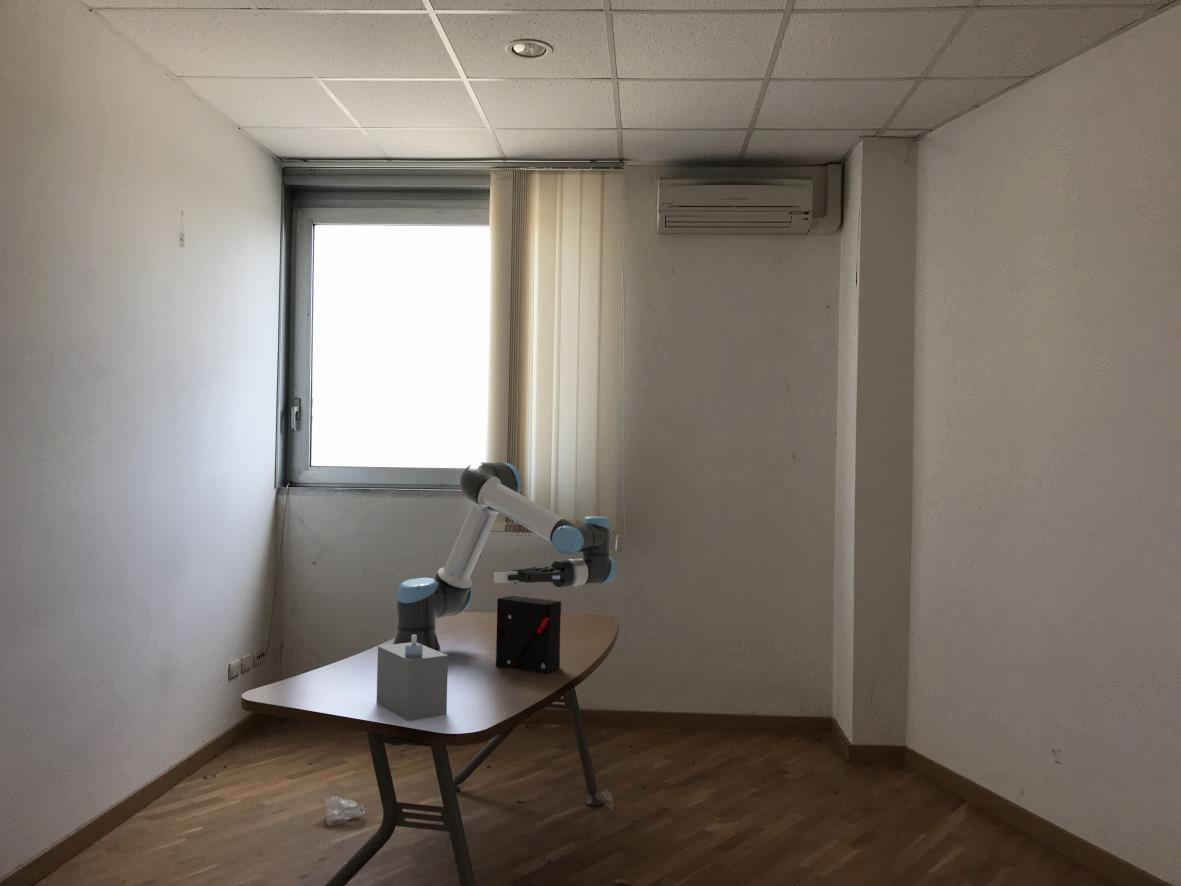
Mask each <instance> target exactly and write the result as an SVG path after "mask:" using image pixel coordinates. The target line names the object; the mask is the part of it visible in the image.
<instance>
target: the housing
mask: <svg viewBox="0 0 1181 886" xmlns="http://www.w3.org/2000/svg"><path fill="white" fill-rule="evenodd" d="M407 644H411V642H410V643H401V644H393V643H392V644H386V645H378V646H377V671H376V675H377V676H376V704H378V705H380V706H381V707H383V708H384V709H386V710H388V711H390V712H392V713H393V712H394V713H393V714H395V715H397V716H398V715H399V717H400V718H402V719H403V718H404V720H405V721H407V722H410V721H409V720H411V721H415V720H420V719H421V720H422V719H427V718H433V717H434V718H435V717H440V716H444V715H447V711H448V710H447V709H448V708H447V705H448V671H449V669H448V667H449V659H448V658H449V654H446V653H443V652H439V651H436V650H434V649H431V648H429V647H426V646H424V645H422V656H420V657H406V656H405V645H407ZM417 644H419V643H417Z"/></svg>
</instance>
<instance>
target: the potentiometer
mask: <svg viewBox="0 0 1181 886" xmlns="http://www.w3.org/2000/svg"><path fill="white" fill-rule="evenodd" d="M405 656H406V657H420V656H422V644H417V635H412V640H411V644H407V645H405Z"/></svg>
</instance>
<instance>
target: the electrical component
mask: <svg viewBox="0 0 1181 886" xmlns="http://www.w3.org/2000/svg"><path fill="white" fill-rule="evenodd" d="M496 599H497V601H496V602H497V603H496V604H497V605H496V609H497V610H496V641H495V642H496V643H495V644H496V646H495V647H496V648H495V668H496V667H497V668H504V669H516V670H521V671H527V672H531V673H538V674H543V675H544V674H545V675H549V674H553V673H555V672H558V671H560V669H561V663H562V661H561V657H560V656H561V655H560V653H561V652H560V651H561V615H562V601H561V600H551V599H542V598H534V597H528V596H527V597H526V596H519V595H508V596H504V597H499V598H496Z"/></svg>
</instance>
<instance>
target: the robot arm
mask: <svg viewBox="0 0 1181 886" xmlns="http://www.w3.org/2000/svg"><path fill="white" fill-rule="evenodd" d="M460 475H461V476H460V479H459V485H460V486H459V487H460V489H461V492H462V493H463V495H464V496H465V497H466V498H467V499H468V500H470V501H471V502H472V504H471V506H470V508H469V510H468V513H467V516H466V518H465V520H464V523H463V524H462V527H461V528H460V531H459V534H458V536H457V537H456V538H457V539H456V541H455V543H454V545H453V548H452V550H451V552H450V554H449V556H448V559H447V561H446V563H445V566H443V567H441V568H438V570H437V572H436V575H435V577H434V578H432V577H417V578H410V579H406V580H404V581H402V582H400V584H399V585H398V589H397V596H396V599H397V600H396V601H397V603H396V605H397V606H396V607H397V608H396V609H397V610H396V615H397V616H396V633H395V636H394V639H393V642H392V644H401V643H410V642H411V640H412V635H417V643H419V644H422V645H424V646H426V647H429V648H431V649H434V650H436V651H439V652H441V645H440V642H439V638H438V636H437V633H436V620H437V619H442V618H445V617H452V616H453V617H454V616H456V615H458V614H461V613H463V612H465V611H466V610H468V608H469V607H470V605H471V603H472V600H473V597H474V596H473V595H474V594H473V592H472V590H473V588H472V585H473V581H472V579H471V576H472V573H473V570H474V568H475V566H476V563H477V561H478V560H479V557H480V555H481V553H482V551H483V548H484V545H485V544H486V541H487V540H488V537H489V535H490V533H491V530H492V528H493V526H494V523H495V521H496V519H497V517H498V515H499V514H501V515H503V516H505V517H506V518H508V519H510V520H511V521H514V522H515V523H517V524H519V525H520V526H522V527H524V528H525V529H526V530H529V531H531V532H532V533H534V534H536V535H538V536H540V537H541V538H543V539H545V540H546V541H548V542H550V543H552V546H553V548H554V549H555V551H556V552H558V553H560V554H565V555H573V554H577V553H582V556H583V557H582V558H568V559H557V560H554V561H553V562H552V564H551V566H548V565H547V566H546V565H545V566H542V567H537V566H533V567H528V568H519V569H512V571H510V570H509V571H497V572H496V571H495V572H494V573H493V583H494V584H505V583H506V584H507V583H513V584H517V583H518V582H519V583H522V582H523V583H525V584H527V583H528V584H529V583H552V584H553V585H554V586H555V587H557V588H565V587H574V588H575V589H577V588H578V586H587V585H589V586H590V585H592V586H593V585H602V584H608V583H612V582H613V581H614V580H616V577H617V575H618V567H617V562H616V561H615V559H614V558H612V557H610V539H611V538H610V535H611V533H610V532H611V529H610V528H611V527H610V518H608V517H607V516H600V515H599V516H598V515H593V516H592V515H591V516H589V515H587V516H585V517H584V519H583V523H582V524H575V523H573V522H571V521H569V520H567V519H565V518H564V517H562V516H561V515H558V514H557V513H555V512H553V511H552V510H550V509H548V508H546V507H544V506H542V505H540V504H538V503H536V502H535V501H533V500H531V499H529V498H528V497H526V496H524V495H523V494H520V493H521V491H522V487H523V480H522V477H521V474H520V472H519V470H518V468H516V467H515V466H514V465H513V464H511V463H506V462H502V461H499V462H484V461H483V462H482V461H481V462H480V461H478V462H474V463H472V464H469V465H467V467H466V468H464V469H463V471H462V473H461V474H460ZM441 653H442V652H441Z"/></svg>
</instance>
